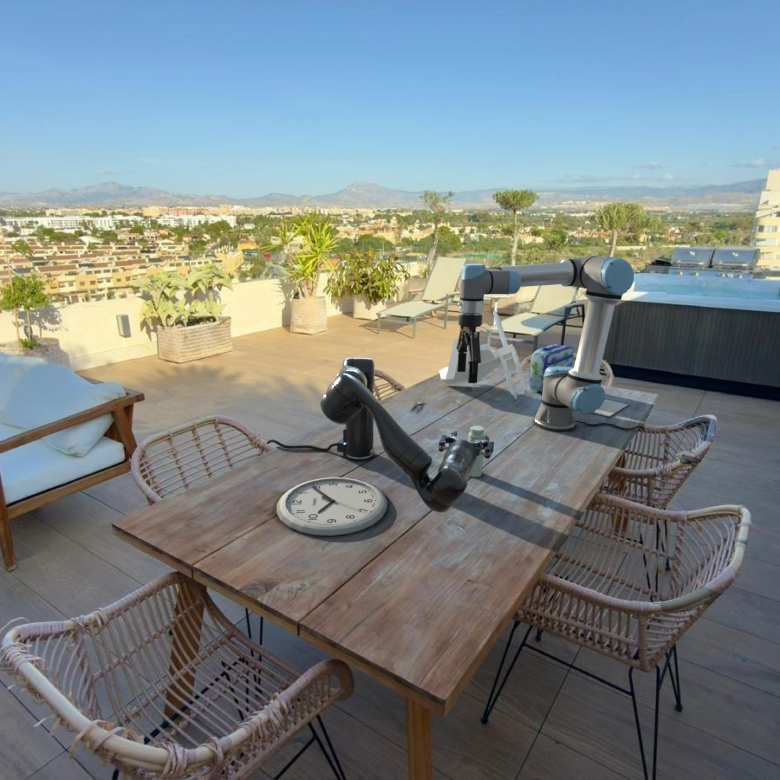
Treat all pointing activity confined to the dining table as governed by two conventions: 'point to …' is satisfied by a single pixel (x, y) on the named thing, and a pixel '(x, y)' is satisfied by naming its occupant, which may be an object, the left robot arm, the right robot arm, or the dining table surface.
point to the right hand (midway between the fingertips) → (466, 377)
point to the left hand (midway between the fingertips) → (470, 436)
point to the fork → (418, 403)
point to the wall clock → (331, 506)
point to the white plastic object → (486, 363)
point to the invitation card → (610, 408)
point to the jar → (476, 471)
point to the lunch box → (548, 363)
